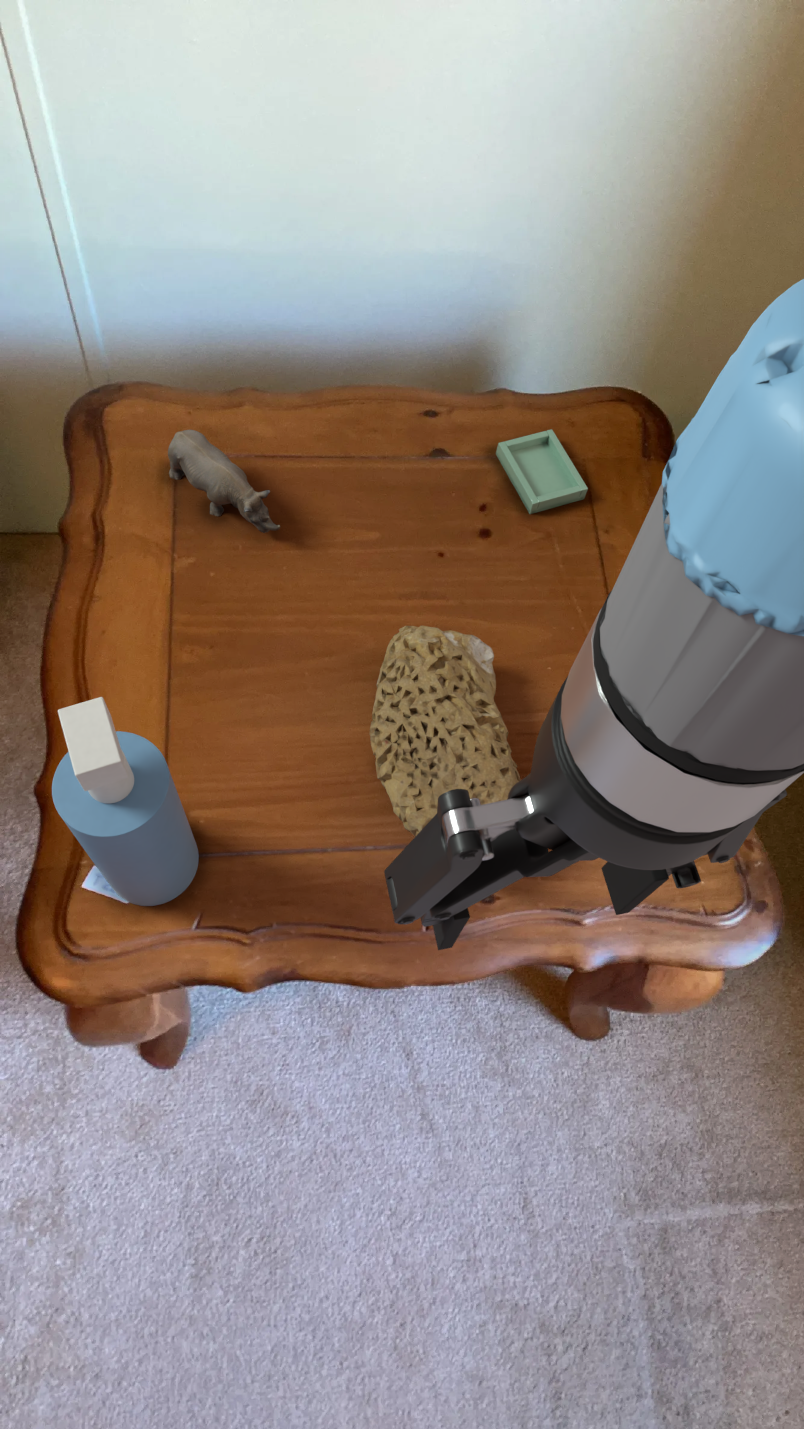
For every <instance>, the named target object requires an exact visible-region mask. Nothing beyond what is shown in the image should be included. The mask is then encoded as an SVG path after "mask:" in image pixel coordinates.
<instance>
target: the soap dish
mask: <svg viewBox="0 0 804 1429" xmlns="http://www.w3.org/2000/svg"><path fill="white" fill-rule="evenodd" d="M495 455H496V457H497V459H498V461H499V463H500V465H501V466H502V468H503V470H504V471H505V473H506V475H507V477H508V479H509V481H510V482H511V484H512V485H513V488H514V489H515V491H516V493H517V494H518V496H519V498H520V500H521V501H522V503H523V505H524V507H525V509H526V511H527V512H528V514H529V515H533V514H536V513H540V512H543V511H547V510H551V509H555V508H557V507H561V506H564V505H568V504H572V503H576V502H579V501H582V500H585V498H586V495H587V493H588V490H589V487H588V486H587V485H586V483H585V481H584V480H583V478H582V476H581V474H580V473H579V471H578V469H577V468H576V466H575V465H574V462H573V461H572V459H571V458H570V457H569V455H568V453H567V451H566V450H565V448H564V446H563V445H562V443H561V441H560V439H559V438H558V437H557V435H556V433H555V431H554V430H553V429H552V428H551V429H547V430H544V431H540V432H536V433H532V434H528V435H523V436H519V437H516V438H512V439H508V440H505V441H500V442H498V443H497V447H496V451H495Z"/></svg>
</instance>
